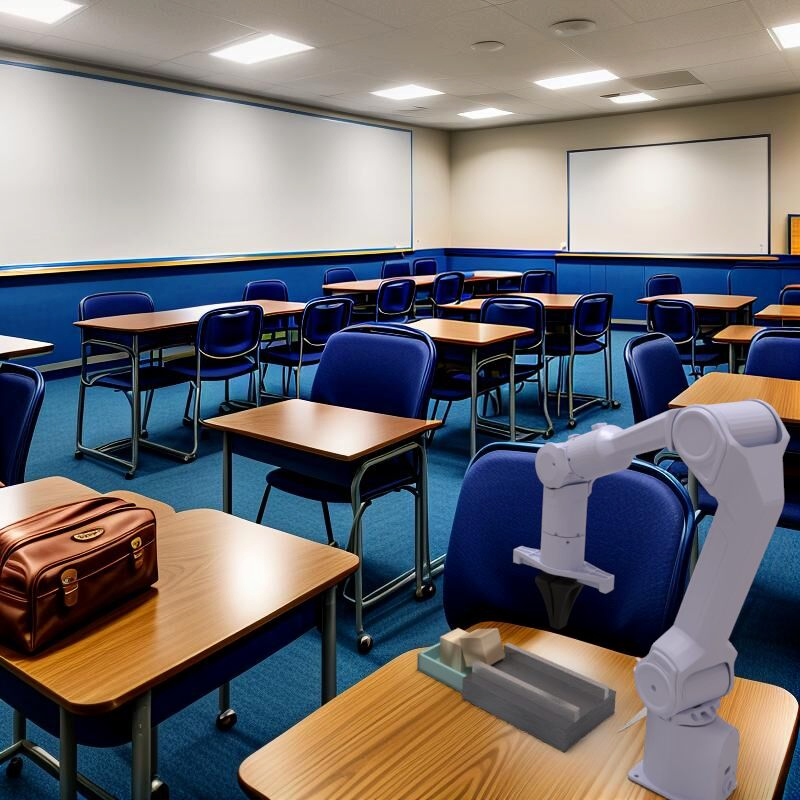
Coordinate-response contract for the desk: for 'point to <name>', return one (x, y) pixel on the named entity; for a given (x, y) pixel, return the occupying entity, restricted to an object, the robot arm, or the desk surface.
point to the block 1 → (453, 650)
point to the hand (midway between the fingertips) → (558, 625)
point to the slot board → (539, 696)
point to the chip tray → (440, 668)
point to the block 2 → (482, 646)
